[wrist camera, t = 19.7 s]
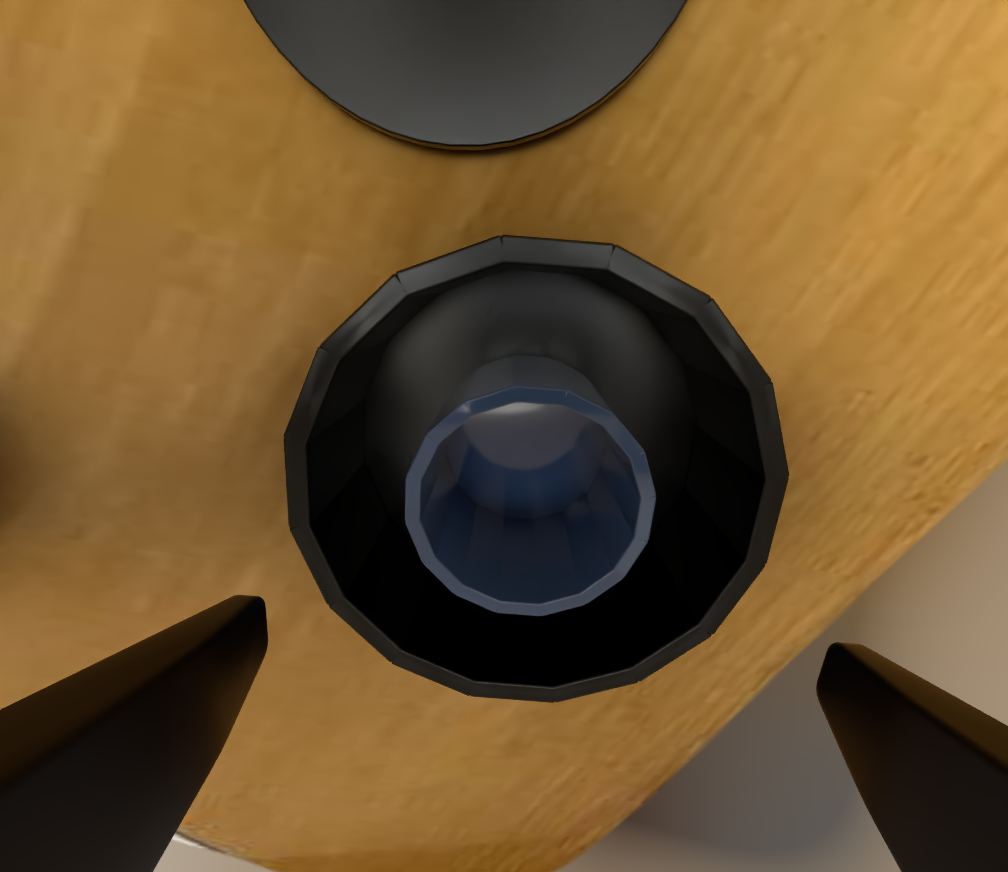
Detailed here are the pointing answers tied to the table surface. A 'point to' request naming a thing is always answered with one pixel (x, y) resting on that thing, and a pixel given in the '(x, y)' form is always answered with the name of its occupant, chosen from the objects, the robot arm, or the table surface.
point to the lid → (466, 61)
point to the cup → (528, 490)
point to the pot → (631, 394)
